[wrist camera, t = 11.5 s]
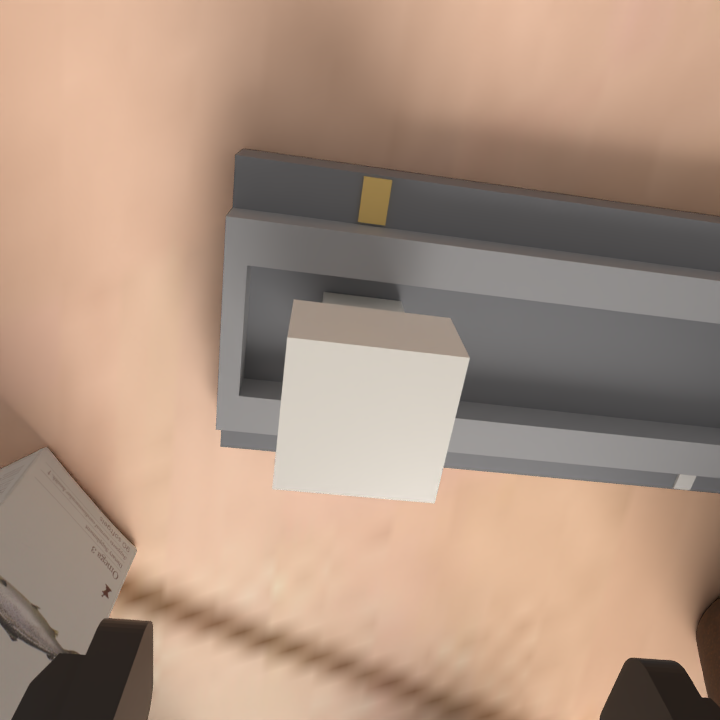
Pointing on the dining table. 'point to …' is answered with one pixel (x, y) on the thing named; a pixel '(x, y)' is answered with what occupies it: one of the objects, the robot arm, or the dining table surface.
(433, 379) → the fader knob
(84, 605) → the supplement box
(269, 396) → the fader console
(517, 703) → the dining table surface
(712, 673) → the plant pot
